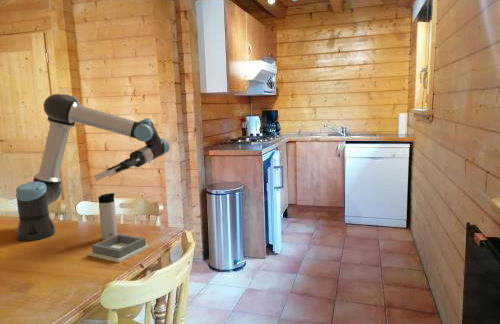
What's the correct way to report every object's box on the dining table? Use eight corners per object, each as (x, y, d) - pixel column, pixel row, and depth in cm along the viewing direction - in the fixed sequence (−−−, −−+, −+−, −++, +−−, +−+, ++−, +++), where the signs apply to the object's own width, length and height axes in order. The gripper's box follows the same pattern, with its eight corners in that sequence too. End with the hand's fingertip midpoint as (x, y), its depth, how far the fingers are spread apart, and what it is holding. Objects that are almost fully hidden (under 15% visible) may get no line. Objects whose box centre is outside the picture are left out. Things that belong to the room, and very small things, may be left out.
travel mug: (114, 241, 158) (111, 195, 155) (99, 241, 158) (95, 195, 155) (120, 236, 164) (116, 191, 161) (105, 236, 164) (101, 192, 161)
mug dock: (88, 255, 143) (88, 245, 143) (120, 241, 157) (119, 232, 157) (119, 262, 136) (118, 252, 135) (149, 247, 150) (148, 237, 150)
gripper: (157, 160, 169) (118, 180, 154) (132, 167, 186) (94, 187, 172) (150, 145, 167) (109, 164, 153) (125, 154, 185) (86, 172, 170)
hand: (101, 176), depth 162 cm, fingers open, 13 cm apart
